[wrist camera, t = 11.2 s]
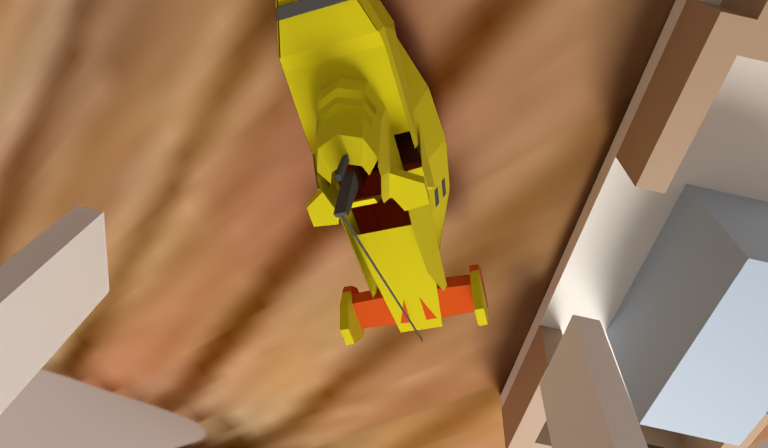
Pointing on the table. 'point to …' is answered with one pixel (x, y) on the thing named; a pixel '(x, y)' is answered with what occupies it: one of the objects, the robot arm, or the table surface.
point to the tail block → (700, 320)
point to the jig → (655, 187)
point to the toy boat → (374, 162)
